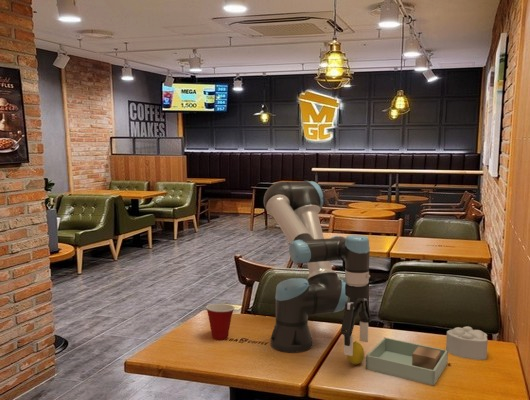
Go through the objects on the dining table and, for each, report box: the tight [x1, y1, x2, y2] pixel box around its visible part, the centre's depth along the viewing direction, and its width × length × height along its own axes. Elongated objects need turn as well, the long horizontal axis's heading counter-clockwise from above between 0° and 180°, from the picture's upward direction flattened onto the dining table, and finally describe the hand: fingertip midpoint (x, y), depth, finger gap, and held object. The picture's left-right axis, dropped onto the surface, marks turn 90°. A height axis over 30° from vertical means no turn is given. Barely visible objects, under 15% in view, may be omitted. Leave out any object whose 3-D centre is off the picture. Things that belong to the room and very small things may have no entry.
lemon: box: [346, 341, 365, 366], centre depth 162 cm, size 6×6×8 cm
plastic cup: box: [205, 303, 235, 341], centre depth 186 cm, size 11×11×12 cm
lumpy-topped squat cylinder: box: [445, 325, 489, 361], centre depth 171 cm, size 10×13×9 cm
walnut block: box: [412, 346, 441, 370], centre depth 157 cm, size 7×7×6 cm
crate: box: [365, 337, 449, 386], centre depth 160 cm, size 21×18×5 cm
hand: (356, 347), depth 161 cm, fingers open, 13 cm apart
